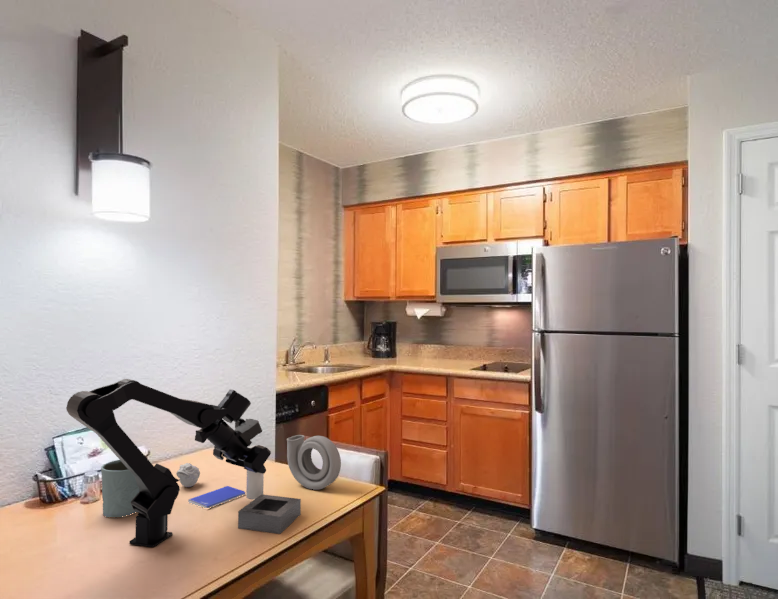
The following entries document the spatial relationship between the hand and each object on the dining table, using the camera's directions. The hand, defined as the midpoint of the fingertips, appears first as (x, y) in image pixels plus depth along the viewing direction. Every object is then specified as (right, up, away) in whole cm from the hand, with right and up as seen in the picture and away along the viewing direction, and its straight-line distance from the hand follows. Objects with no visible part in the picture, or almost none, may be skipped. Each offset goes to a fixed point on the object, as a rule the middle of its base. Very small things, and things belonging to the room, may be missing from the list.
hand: (259, 470), depth 134 cm
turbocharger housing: (+13, -9, +11) cm, 19 cm away
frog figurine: (-23, -9, +10) cm, 27 cm away
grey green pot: (-33, -8, -7) cm, 35 cm away
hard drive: (-12, -9, +1) cm, 15 cm away
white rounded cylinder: (-1, -7, -1) cm, 7 cm away
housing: (+6, -8, -12) cm, 16 cm away
